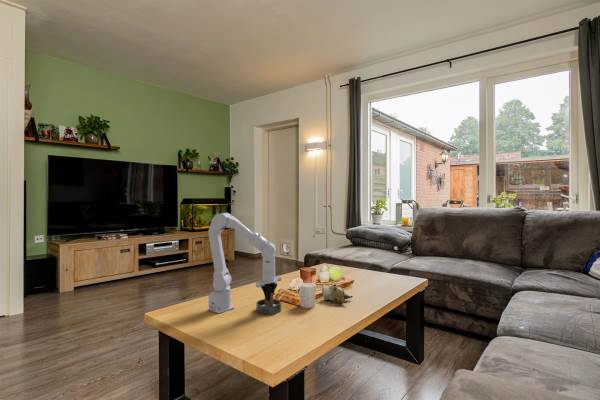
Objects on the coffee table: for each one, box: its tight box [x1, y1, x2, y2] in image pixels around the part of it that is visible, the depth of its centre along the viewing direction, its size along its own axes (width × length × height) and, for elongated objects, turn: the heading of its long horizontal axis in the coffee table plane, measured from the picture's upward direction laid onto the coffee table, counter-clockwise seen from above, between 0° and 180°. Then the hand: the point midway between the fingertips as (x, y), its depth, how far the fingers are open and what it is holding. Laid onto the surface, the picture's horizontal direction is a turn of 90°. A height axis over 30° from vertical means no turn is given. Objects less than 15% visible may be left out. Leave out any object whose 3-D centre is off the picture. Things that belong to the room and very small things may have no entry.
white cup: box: [298, 282, 317, 309], centre depth 157 cm, size 8×8×10 cm
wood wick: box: [262, 292, 276, 306], centre depth 151 cm, size 5×5×7 cm
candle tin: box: [255, 298, 282, 316], centre depth 151 cm, size 11×11×4 cm
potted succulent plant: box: [321, 284, 354, 304], centre depth 164 cm, size 11×9×15 cm
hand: (268, 299), depth 151 cm, fingers closed on wood wick
